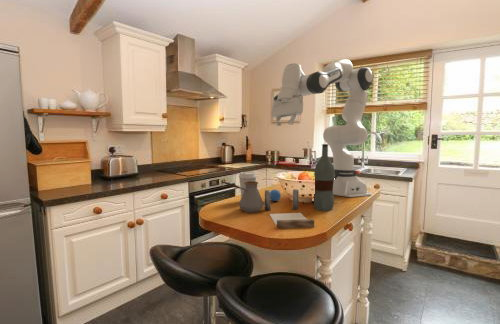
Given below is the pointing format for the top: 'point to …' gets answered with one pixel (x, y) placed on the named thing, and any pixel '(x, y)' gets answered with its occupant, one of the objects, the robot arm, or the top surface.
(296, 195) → the right post
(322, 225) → the top surface
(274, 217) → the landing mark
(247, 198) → the coffee pot
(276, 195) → the ball
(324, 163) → the bottle
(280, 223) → the wall
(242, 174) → the coffee cup
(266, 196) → the left post
